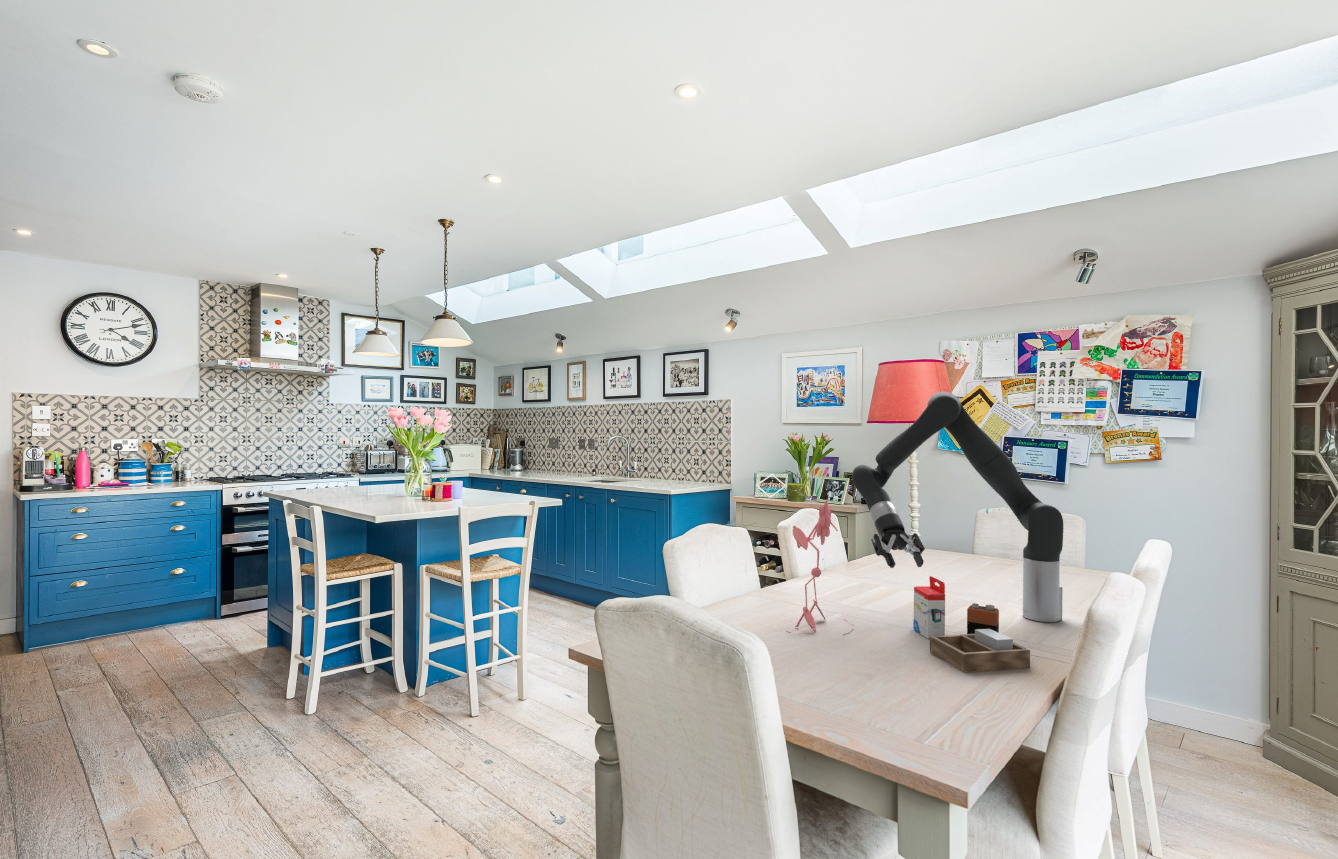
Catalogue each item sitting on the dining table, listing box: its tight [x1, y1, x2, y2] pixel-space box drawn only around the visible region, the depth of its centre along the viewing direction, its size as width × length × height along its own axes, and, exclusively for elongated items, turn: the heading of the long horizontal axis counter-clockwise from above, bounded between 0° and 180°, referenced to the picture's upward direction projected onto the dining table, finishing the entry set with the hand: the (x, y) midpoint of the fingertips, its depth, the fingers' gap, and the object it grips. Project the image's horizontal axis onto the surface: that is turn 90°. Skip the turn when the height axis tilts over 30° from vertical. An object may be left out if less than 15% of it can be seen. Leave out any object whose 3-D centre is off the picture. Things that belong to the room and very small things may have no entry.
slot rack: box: [929, 633, 1031, 673], centre depth 153 cm, size 17×13×4 cm
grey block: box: [975, 629, 1014, 651], centre depth 154 cm, size 4×8×6 cm, turn 11°
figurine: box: [785, 499, 854, 636], centre depth 178 cm, size 15×26×35 cm, turn 151°
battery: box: [966, 602, 1000, 634], centre depth 165 cm, size 4×7×10 cm, turn 55°
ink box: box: [912, 575, 946, 640], centre depth 173 cm, size 8×5×15 cm, turn 5°
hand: (907, 565), depth 184 cm, fingers open, 8 cm apart
